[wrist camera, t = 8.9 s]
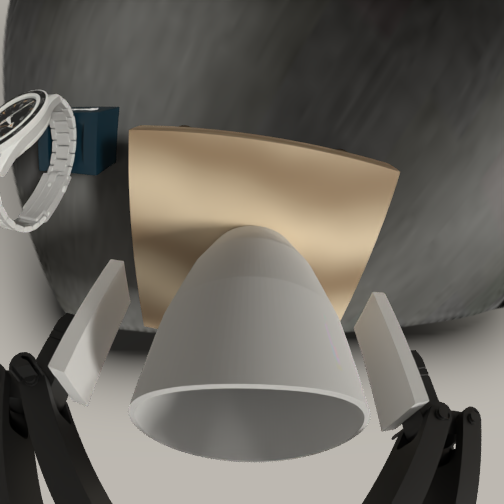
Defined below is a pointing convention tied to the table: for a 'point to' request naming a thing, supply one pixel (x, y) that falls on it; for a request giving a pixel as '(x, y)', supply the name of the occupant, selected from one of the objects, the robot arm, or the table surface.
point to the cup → (250, 359)
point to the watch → (54, 148)
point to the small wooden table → (249, 205)
